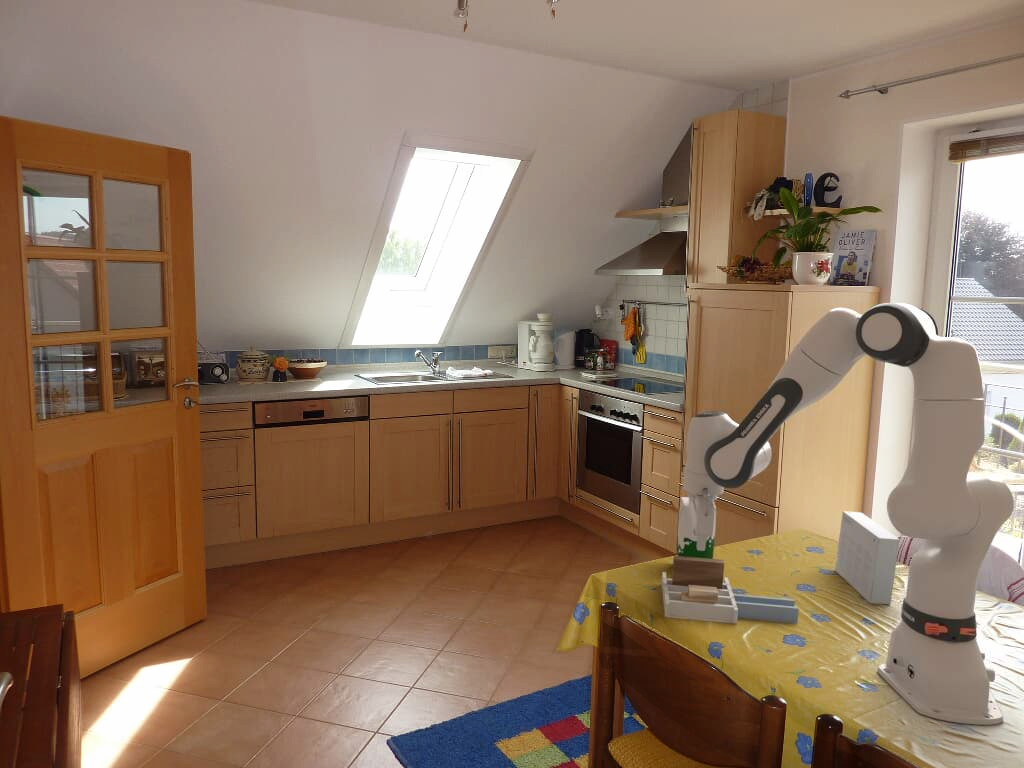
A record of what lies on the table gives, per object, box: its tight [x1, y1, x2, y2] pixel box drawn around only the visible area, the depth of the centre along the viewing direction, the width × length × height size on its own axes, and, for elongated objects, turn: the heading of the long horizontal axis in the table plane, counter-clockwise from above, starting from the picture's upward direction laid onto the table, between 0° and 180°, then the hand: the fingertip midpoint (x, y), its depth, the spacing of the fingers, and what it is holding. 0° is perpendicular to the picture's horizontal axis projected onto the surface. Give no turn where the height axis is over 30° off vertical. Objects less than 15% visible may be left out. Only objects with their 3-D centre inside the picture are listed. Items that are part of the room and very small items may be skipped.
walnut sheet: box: [671, 555, 725, 589], centre depth 177 cm, size 2×11×9 cm, turn 82°
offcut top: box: [688, 585, 718, 601], centre depth 169 cm, size 3×6×2 cm, turn 81°
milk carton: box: [676, 496, 717, 559], centre depth 195 cm, size 9×9×20 cm
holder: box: [733, 593, 800, 624], centre depth 170 cm, size 6×13×4 cm, turn 81°
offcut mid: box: [681, 592, 715, 604], centre depth 169 cm, size 3×7×2 cm, turn 81°
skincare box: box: [834, 510, 900, 605], centre depth 188 cm, size 21×6×16 cm, turn 179°
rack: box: [661, 571, 739, 624], centre depth 175 cm, size 18×15×4 cm
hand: (698, 542), depth 176 cm, fingers open, 8 cm apart
